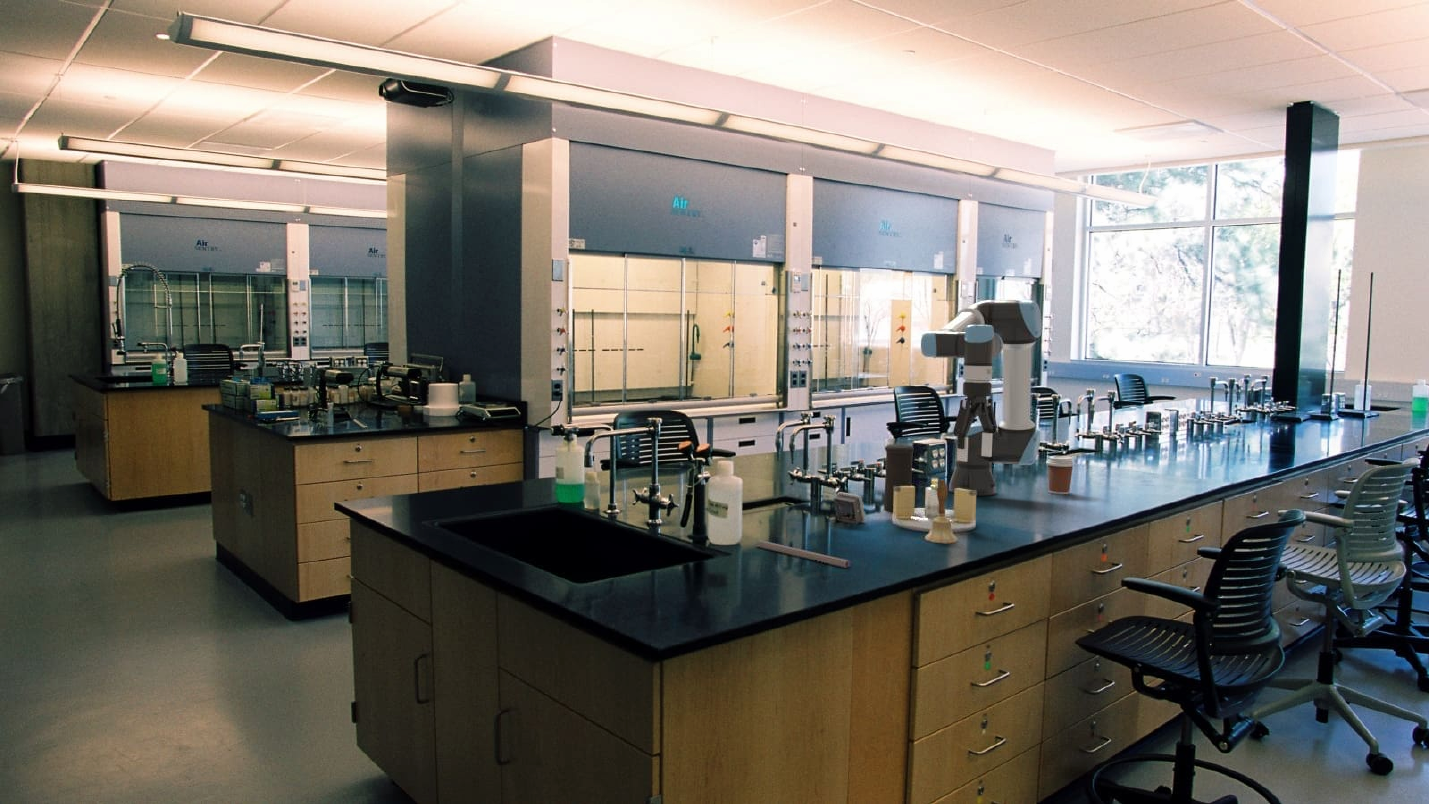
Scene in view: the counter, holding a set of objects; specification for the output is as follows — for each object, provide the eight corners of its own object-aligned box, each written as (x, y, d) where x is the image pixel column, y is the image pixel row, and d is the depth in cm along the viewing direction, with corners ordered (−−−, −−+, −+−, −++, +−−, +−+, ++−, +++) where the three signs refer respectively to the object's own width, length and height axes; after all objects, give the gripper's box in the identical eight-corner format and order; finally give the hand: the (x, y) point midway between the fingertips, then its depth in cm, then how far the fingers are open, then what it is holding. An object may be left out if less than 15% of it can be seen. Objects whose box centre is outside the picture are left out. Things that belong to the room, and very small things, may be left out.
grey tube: (844, 569, 208) (844, 561, 208) (756, 548, 227) (756, 540, 227) (849, 568, 210) (849, 559, 210) (761, 547, 229) (761, 539, 228)
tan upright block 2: (951, 520, 249) (952, 489, 248) (959, 518, 252) (960, 487, 252) (970, 524, 245) (971, 492, 244) (977, 521, 248) (978, 489, 248)
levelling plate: (880, 515, 265) (881, 479, 264) (953, 513, 269) (954, 477, 268) (910, 534, 242) (912, 494, 241) (990, 531, 246) (991, 492, 245)
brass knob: (941, 511, 261) (942, 481, 261) (926, 510, 262) (927, 480, 262) (941, 507, 267) (942, 478, 266) (926, 506, 268) (927, 477, 267)
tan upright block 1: (908, 515, 256) (909, 484, 255) (916, 518, 251) (917, 487, 251) (890, 516, 254) (891, 485, 253) (897, 519, 250) (898, 488, 249)
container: (915, 508, 276) (916, 443, 275) (908, 513, 268) (910, 447, 267) (887, 505, 280) (888, 441, 278) (879, 510, 272) (881, 445, 270)
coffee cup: (1069, 490, 308) (1070, 455, 307) (1077, 495, 299) (1078, 459, 298) (1041, 489, 309) (1043, 455, 308) (1048, 494, 300) (1050, 459, 299)
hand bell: (951, 545, 231) (953, 483, 229) (920, 540, 235) (922, 480, 234) (961, 538, 238) (963, 479, 236) (930, 534, 242) (932, 475, 241)
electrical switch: (866, 522, 256) (864, 494, 254) (856, 526, 253) (854, 498, 251) (842, 518, 262) (841, 490, 261) (832, 522, 259) (831, 494, 257)
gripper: (967, 383, 234) (964, 464, 236) (1011, 380, 252) (1008, 455, 254) (941, 382, 240) (938, 461, 241) (986, 379, 257) (983, 453, 259)
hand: (974, 458), depth 248 cm, fingers open, 13 cm apart
